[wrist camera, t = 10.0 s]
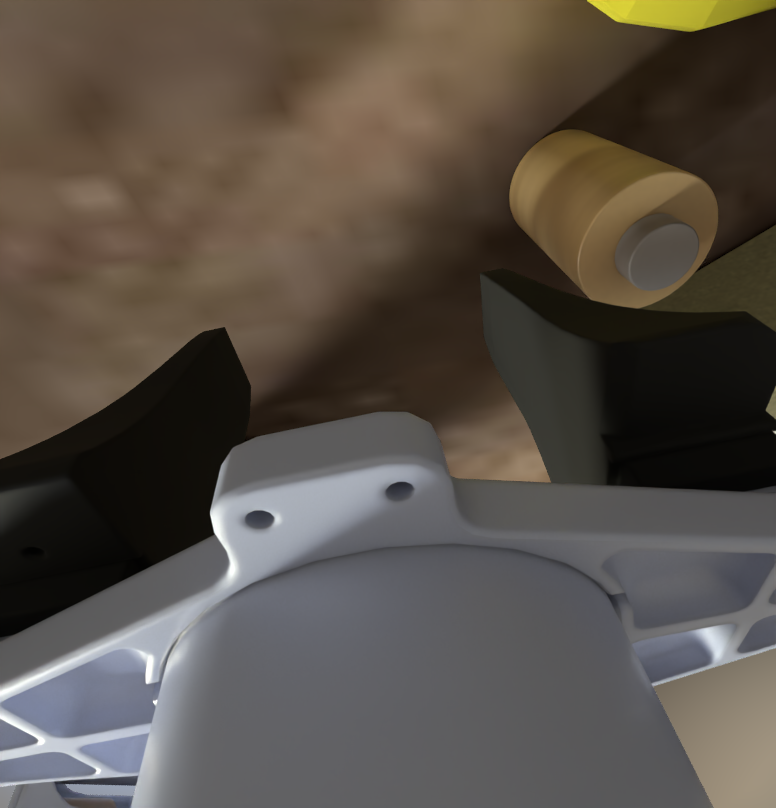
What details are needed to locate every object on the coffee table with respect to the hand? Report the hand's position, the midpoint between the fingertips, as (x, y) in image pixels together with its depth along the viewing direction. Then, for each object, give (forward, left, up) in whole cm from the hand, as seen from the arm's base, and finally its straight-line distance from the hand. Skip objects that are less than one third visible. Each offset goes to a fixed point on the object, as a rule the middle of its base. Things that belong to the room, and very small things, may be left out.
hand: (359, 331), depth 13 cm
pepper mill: (-1, -10, -10) cm, 14 cm away
